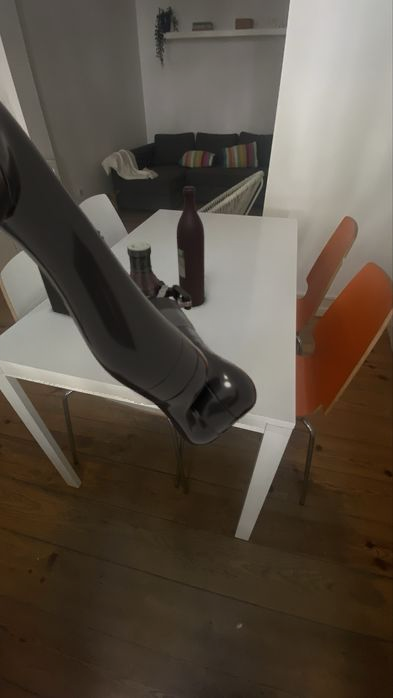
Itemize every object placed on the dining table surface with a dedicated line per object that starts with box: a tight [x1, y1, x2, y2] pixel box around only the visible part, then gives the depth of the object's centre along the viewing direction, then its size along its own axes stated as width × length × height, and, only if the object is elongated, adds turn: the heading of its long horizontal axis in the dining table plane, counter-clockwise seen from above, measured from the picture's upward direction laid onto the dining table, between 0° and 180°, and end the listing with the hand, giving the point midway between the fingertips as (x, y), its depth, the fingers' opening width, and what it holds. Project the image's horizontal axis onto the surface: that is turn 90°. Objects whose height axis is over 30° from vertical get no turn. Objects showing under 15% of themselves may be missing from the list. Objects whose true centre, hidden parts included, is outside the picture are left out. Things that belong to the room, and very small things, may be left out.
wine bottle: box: [176, 185, 205, 307], centre depth 83 cm, size 7×7×30 cm
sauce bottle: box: [126, 241, 159, 297], centre depth 61 cm, size 6×6×20 cm
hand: (139, 286), depth 62 cm, fingers closed on sauce bottle, 6 cm apart
